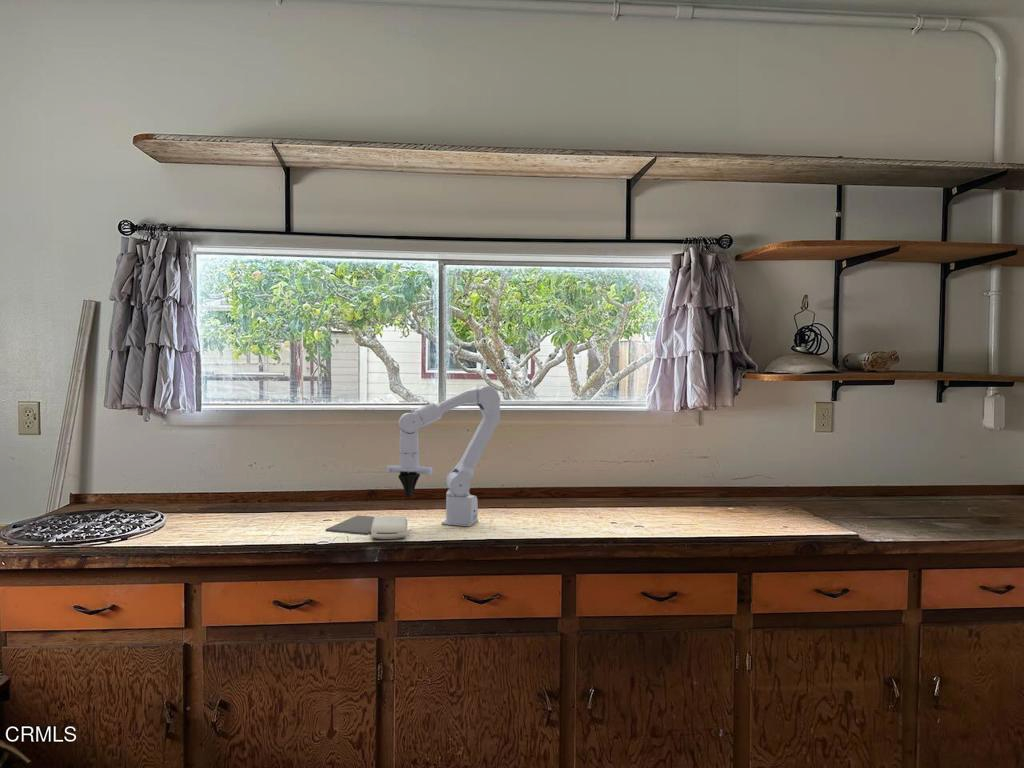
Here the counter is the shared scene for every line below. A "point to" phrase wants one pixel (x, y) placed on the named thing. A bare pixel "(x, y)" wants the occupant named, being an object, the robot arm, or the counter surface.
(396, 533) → the photo printer
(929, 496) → the counter surface
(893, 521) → the counter surface
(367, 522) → the mat
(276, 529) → the counter surface
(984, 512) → the counter surface
